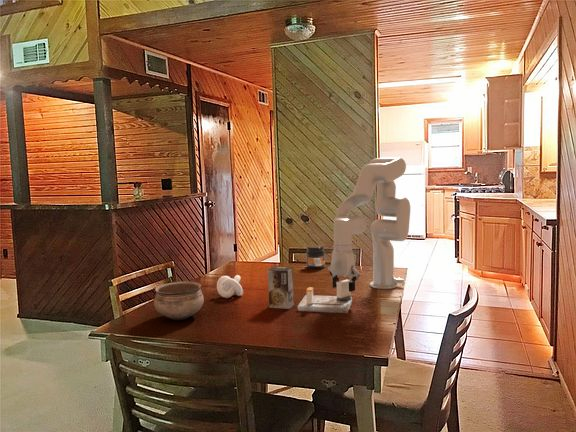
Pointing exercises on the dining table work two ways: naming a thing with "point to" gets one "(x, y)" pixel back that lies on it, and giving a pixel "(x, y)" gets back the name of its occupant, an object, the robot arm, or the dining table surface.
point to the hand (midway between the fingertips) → (343, 289)
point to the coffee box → (280, 287)
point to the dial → (343, 290)
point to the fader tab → (310, 295)
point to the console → (325, 304)
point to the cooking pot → (178, 299)
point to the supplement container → (315, 257)
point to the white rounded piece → (229, 286)
